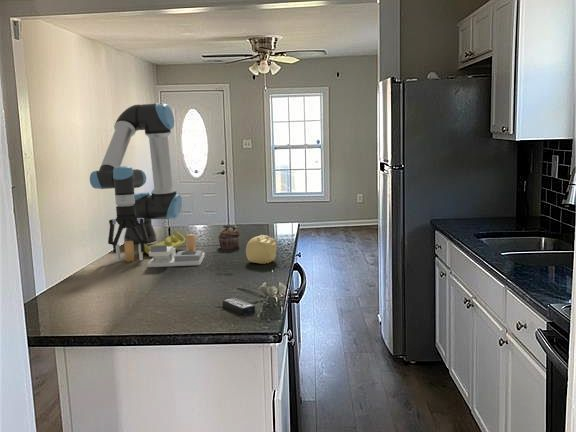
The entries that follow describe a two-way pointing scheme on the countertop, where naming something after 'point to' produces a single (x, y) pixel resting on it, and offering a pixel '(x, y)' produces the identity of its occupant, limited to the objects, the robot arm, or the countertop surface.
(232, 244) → the cupcake
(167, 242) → the plastic component
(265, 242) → the sculpture
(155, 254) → the lid
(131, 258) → the peg
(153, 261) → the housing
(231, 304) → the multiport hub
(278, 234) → the countertop surface
